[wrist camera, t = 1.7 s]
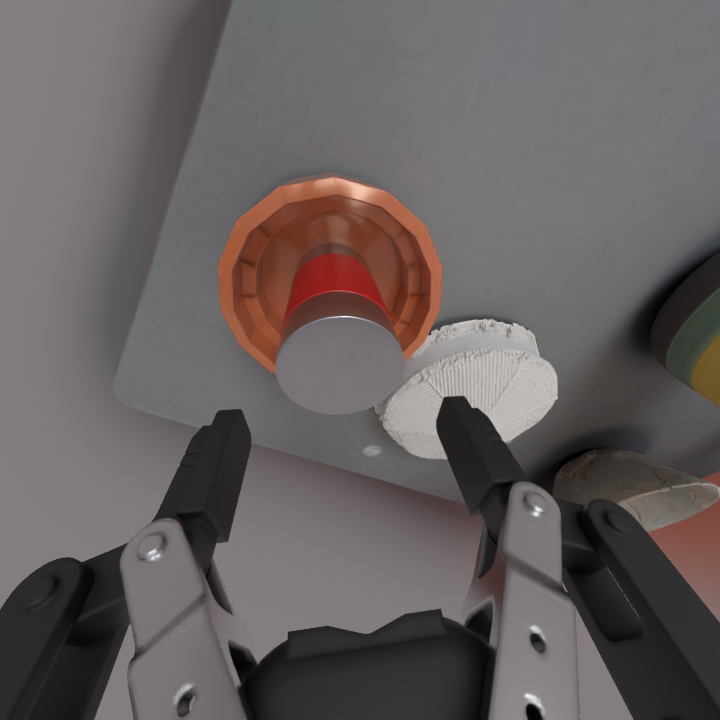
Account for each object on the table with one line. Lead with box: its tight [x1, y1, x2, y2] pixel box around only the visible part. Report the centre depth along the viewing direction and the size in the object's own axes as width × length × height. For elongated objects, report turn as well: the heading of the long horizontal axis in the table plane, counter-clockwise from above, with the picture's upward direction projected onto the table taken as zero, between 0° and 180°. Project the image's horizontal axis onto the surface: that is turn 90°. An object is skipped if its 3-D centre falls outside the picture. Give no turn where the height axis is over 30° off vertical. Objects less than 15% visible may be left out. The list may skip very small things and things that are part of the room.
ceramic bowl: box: [552, 448, 720, 532], centre depth 44 cm, size 22×23×10 cm
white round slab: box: [374, 319, 559, 460], centre depth 29 cm, size 20×20×7 cm
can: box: [275, 244, 404, 415], centre depth 17 cm, size 6×6×11 cm
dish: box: [218, 172, 442, 374], centre depth 20 cm, size 15×15×5 cm
